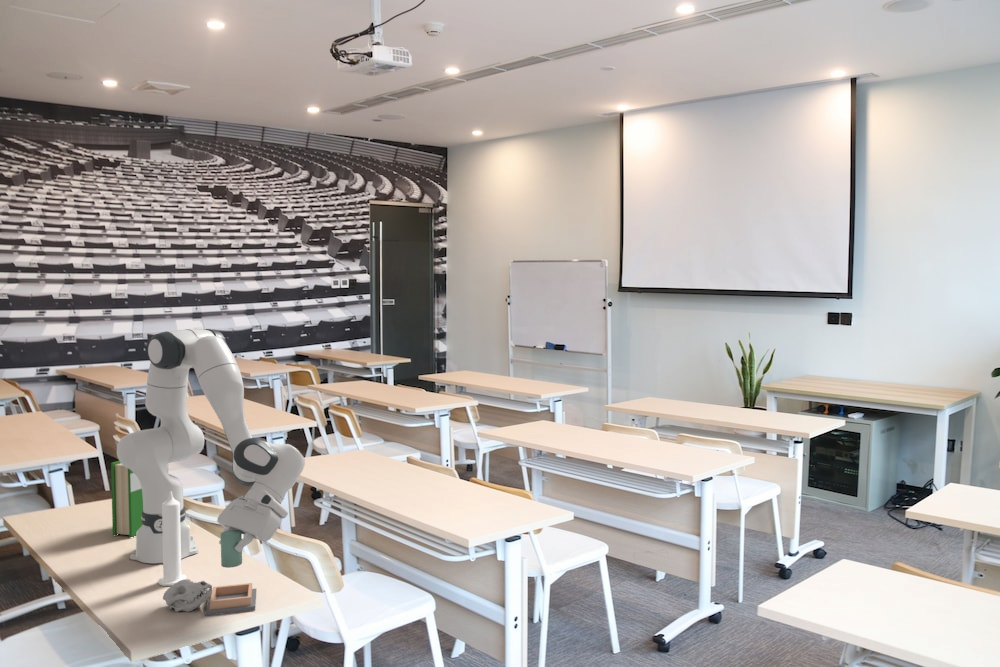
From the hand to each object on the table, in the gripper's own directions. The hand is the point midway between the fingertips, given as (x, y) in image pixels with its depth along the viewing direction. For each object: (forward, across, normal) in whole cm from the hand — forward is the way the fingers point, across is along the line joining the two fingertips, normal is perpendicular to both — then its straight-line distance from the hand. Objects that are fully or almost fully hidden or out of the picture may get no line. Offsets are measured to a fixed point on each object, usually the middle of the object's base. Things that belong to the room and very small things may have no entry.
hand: (229, 547), depth 189 cm
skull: (+16, -6, +5) cm, 18 cm away
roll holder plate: (+10, 0, +11) cm, 15 cm away
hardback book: (0, -78, +21) cm, 81 cm away
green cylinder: (+3, 0, +4) cm, 4 cm away
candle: (+12, -26, +9) cm, 30 cm away
